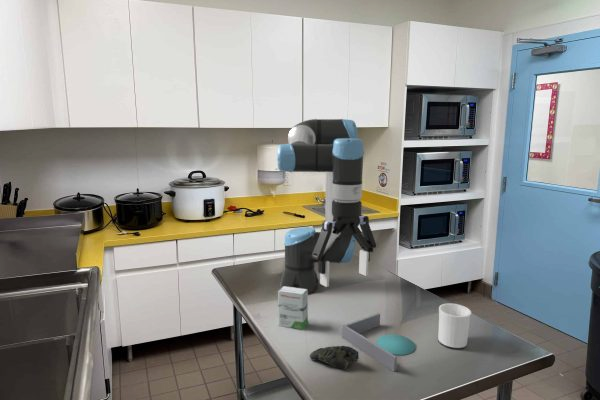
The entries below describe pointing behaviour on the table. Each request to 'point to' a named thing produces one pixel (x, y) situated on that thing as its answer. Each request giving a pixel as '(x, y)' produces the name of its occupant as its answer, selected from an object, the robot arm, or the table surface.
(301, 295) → the ink box
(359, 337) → the grey angle bracket
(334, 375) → the table surface
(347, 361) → the stone
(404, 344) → the teal mat
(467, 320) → the mug
